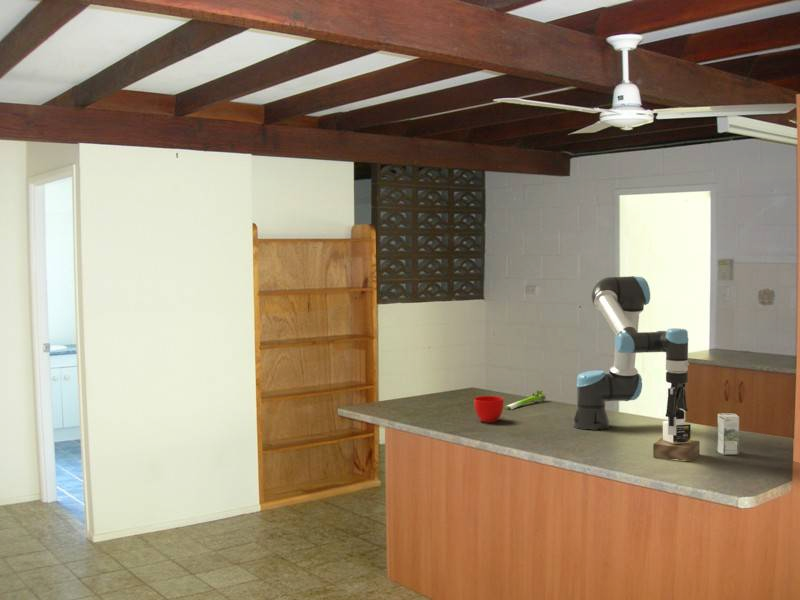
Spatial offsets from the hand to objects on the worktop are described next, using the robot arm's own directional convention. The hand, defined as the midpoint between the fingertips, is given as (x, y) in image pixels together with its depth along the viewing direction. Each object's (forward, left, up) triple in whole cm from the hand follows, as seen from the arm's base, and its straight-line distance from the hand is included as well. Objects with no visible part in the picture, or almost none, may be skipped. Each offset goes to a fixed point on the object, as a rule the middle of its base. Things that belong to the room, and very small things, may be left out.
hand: (676, 431), depth 309 cm
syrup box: (+15, +13, -9) cm, 22 cm away
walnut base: (0, 0, -9) cm, 9 cm away
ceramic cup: (-89, +24, -9) cm, 93 cm away
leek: (-89, +64, -10) cm, 111 cm away
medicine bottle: (0, 0, -4) cm, 4 cm away
